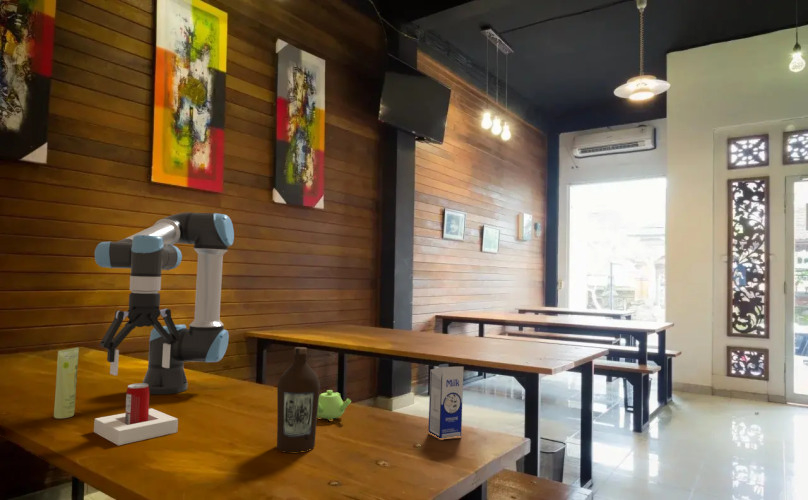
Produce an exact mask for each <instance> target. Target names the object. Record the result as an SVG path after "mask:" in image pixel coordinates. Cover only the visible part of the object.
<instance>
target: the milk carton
mask: <svg viewBox="0 0 808 500" xmlns="http://www.w3.org/2000/svg"><path fill="white" fill-rule="evenodd" d="M464 368H465V367H464V366H449V363H443V364H442V363H441V364H438V367H435V368H432V369H430V374H429V377H430V378H429V379H430V380H429V402H428V403H429V405H428V406H429V407H428V431H429V432H430V433H432V434H434V435H436V436H437V437H439V438H447V437H454V436H461V437H462V428H463V427H462V425H463V422H462V421H463V397H464V396H463V392H464V390H463V389H464ZM428 431H427V432H428Z"/></svg>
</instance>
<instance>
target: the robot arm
mask: <svg viewBox="0 0 808 500" xmlns="http://www.w3.org/2000/svg"><path fill="white" fill-rule="evenodd" d="M234 240H235V231H234V225H233V222H232V219H231V218H230V216H228V215H227V214H223V213H216V212H213V213H211V212H189V211H188V212H181V213H180V212H179V213H175V214H172V215H168V216H165V217H163V218H161V219H159V220H157V221H156V222H155V223H154V224H153V225H152V226H150V227H148V228H145V229H143V230H141V231H139V232H136V233H134V234H132V235H129V236H128V237H125V238H123V239H121V240H118V241H102V242H99V243H98V244H97V245H96V247H95V250H94V261H95V263H96V264H97V265H98V266H99V267H101V268H108V269H130V276H129V291H130V293H129V295H128V310H127V311H122V310H116V311H115V312H114V318H113V320H112V322H111V323H110V325H109V327H108V329H107V331H106V332H105V334H104V335H103V337H102V339H101V341H100V343H99V346H100V347H101V348H103V349H106V350H107V355H106V356H107V357H106V361H107V363H108V362H109V363H110V367H109V368H110V369H109V374H110V375H113V376H118V375H119V374H118V373H119V357H120V356H119V355H120V349H117V348H118V346H120V344H121V343H122V342H123V340H125V338H126V337H127V336H128V335H129V334H131V332H132V331H133V330H134V329H136V328H137V327H138V328H142V327H148V328H149V327H153V328H152V329H151V331H150V336H149V345H148V360H147V361H148V364H147V365H148V366H147V371H146V373H145V376H144V377H143V381H142V383H145V384H148V386H149V390H150V391H149V395H170V394H172V395H173V394H178V393H181V392H185V391H186V390H187V389H188V385H189V383H188V380H187V376H186V372H185V370H184V364H185V362H193V363H194V362H197V363H200V362H201V363H206V364H207V363H218V362H220V361H221V360H222V359H223V357H224V356H225V354H226V351H227V349H228V347H229V346H228V344H229V341H230V340H229V337H230V335H229V331H228V330H227V329H224V327H225V326H224V325H225V324H224V323H223V322H222V321H221V319H220V318H221V317H220V316H221V300H222V299H221V298H222V282H223V281H222V280H223V263H224V262H223V260H224V258H223V256H224V255H225V253H227V252H228V251H229V250H228V249H229V248H228V247H231V246H232V245H233V244H234ZM175 244H177V245H178V244H181V245H182V244H183V245H185V244H186V245H187V244H188V245H193V250H194V251H195V252H196V253H197V263H196V264H197V267H196V282H195V283H196V285H195V302H194V303H195V304H194V318H193V319H194V320H193V321H192V322H191V323H189V328H187V326H186V324H183V323H182V324H181V323H180V324H175V322H174V320H173V318H172V310H171V309H170V308H162V309H160V306H161V305H160V304H161V294H160V291H161V290H162V289H161V287H162V286H161V284H162V271H169V270H173V269H177V267H179V266H180V264H181V263H182V261H183V260H182V258H183V254H182V251H181V250H180V248H178V247H177V246H176V245H175ZM160 316H161V317H162V319H163V321H164V324H165V325H162V323H161V322H160V321H159V319H158V318H159V317H160ZM126 318H128V321H126V323H125V324H124V326H123V327H122V328H121V330H119V329H120V327H121V325H122V323H123V321H124V320H125V319H126ZM118 330H119V332H118ZM117 332H118V333H117Z"/></svg>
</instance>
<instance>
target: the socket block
mask: <svg viewBox="0 0 808 500" xmlns="http://www.w3.org/2000/svg"><path fill="white" fill-rule="evenodd" d="M125 413H126V412H124V413H118V414H113V415H107V416H106V415H105V416H101V417H97V418H94V422H93V424H94V425H93V433H95V434H96V435H99V436H100V437H102V438H104V439H106V440H107V441H109V442H111V443H113V444H115V445H116V446H122V445H126V444H131V443H136V442H140V441H144V440H148V439H153V438H157V437H163V436H166V435H171V434H175V433H178V429H179V428H178V427H179V418H177V417H175V416H171V415H169V414H167V413H165V412H162V411H160V410H157V409H155V408H152V407H151V408H149V415H148V421H146V422H141V423H136V424H131V425H127V424H125Z"/></svg>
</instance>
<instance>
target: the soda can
mask: <svg viewBox="0 0 808 500" xmlns="http://www.w3.org/2000/svg"><path fill="white" fill-rule="evenodd" d="M149 391H150V390H149V386H148V384H145V383H140V382H139V383H132V384H128V385H127V389H126V394H125V395H126V397H125V412H124V413H125V424H127V425H131V424H136V423H141V422H146V421H148V415H149V409H150V394H149Z"/></svg>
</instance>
